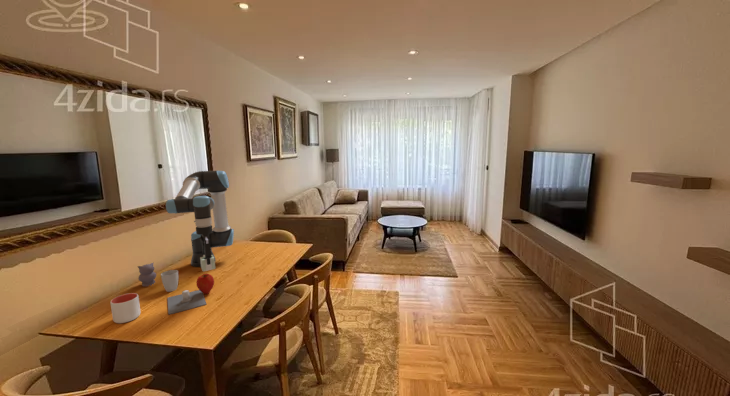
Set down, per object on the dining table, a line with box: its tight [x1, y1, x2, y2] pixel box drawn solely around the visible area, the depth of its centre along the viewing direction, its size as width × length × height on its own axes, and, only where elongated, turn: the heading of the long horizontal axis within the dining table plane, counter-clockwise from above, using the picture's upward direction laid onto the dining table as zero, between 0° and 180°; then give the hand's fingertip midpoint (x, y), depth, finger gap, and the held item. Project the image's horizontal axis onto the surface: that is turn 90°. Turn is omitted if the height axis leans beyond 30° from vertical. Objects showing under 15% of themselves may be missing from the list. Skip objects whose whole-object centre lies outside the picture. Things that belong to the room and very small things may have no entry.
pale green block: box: [200, 255, 216, 272], centre depth 157 cm, size 6×6×7 cm
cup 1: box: [109, 292, 141, 324], centre depth 136 cm, size 10×10×10 cm
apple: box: [196, 273, 215, 295], centre depth 160 cm, size 9×8×11 cm
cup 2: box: [160, 269, 179, 293], centre depth 165 cm, size 8×8×10 cm
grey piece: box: [167, 289, 207, 316], centre depth 151 cm, size 20×16×5 cm
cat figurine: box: [137, 262, 157, 287], centre depth 172 cm, size 8×8×12 cm
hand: (208, 267), depth 157 cm, fingers closed on pale green block, 6 cm apart
